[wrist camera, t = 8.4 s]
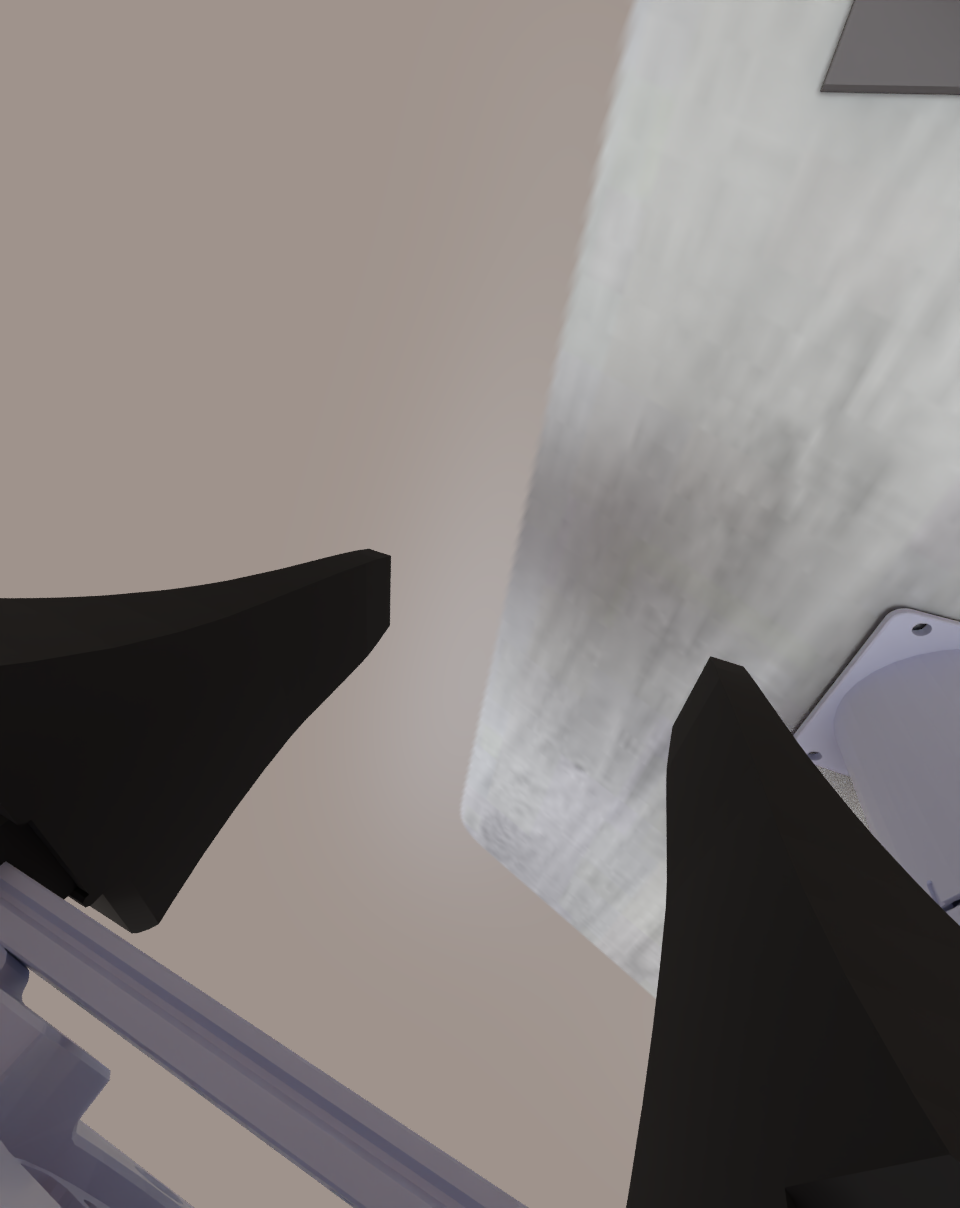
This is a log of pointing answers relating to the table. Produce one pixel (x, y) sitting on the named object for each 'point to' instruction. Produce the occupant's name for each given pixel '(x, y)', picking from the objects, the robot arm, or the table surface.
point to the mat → (898, 48)
